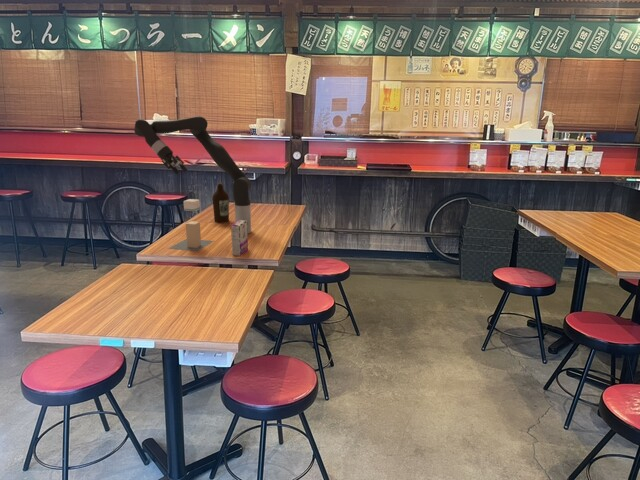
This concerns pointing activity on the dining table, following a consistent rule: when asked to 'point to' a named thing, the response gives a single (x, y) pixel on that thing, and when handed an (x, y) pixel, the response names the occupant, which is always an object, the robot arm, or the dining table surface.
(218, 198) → the olive oil
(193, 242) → the kraft carton
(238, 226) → the candy bar box
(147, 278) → the dining table surface
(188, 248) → the packing mat
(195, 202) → the carton lid
